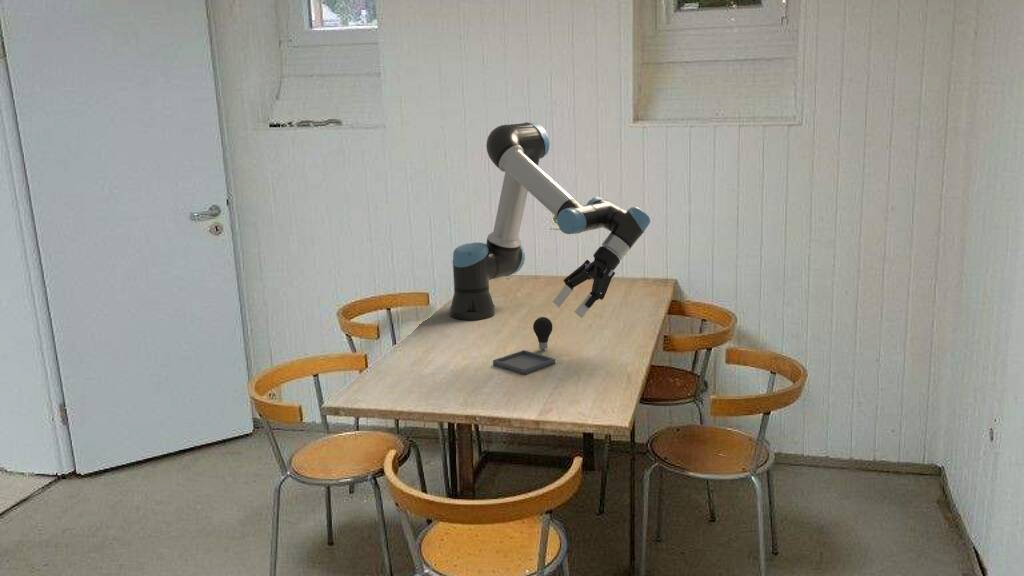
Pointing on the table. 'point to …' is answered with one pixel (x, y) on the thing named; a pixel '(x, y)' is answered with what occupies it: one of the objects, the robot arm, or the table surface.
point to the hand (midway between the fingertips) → (566, 309)
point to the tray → (524, 362)
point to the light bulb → (542, 331)
